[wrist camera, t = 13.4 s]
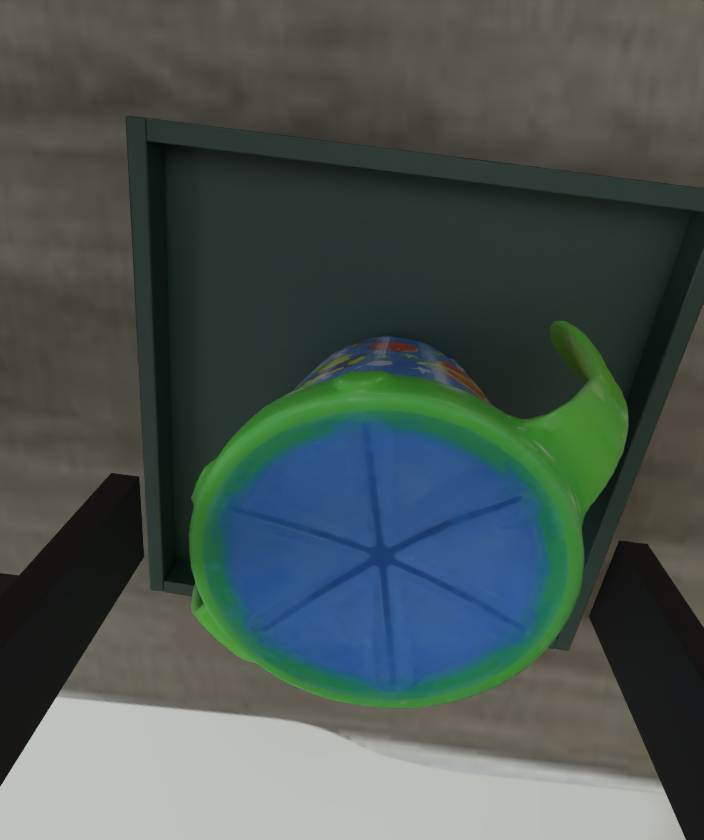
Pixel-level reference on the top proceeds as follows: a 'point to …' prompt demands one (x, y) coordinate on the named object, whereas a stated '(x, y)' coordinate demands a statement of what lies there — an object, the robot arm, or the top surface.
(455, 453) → the sippy cup
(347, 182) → the tray
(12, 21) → the top surface
